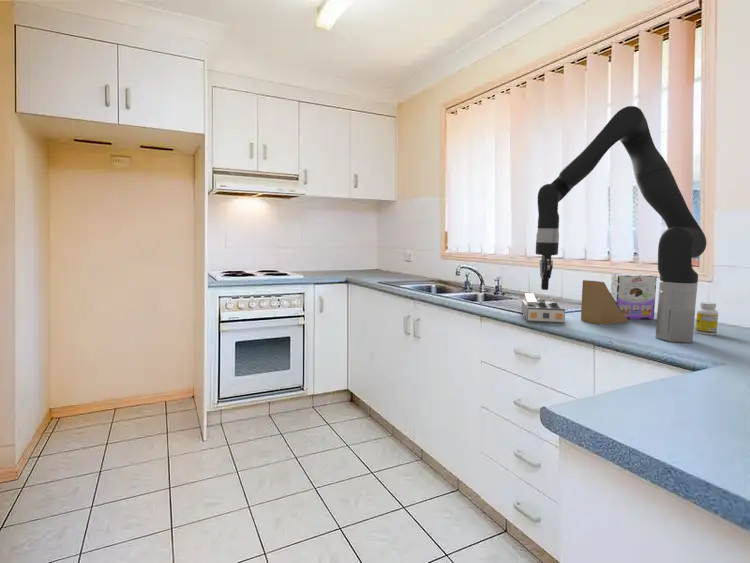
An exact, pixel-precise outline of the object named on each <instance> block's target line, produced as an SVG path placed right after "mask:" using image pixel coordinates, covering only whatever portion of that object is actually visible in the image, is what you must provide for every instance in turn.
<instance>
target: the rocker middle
mask: <svg viewBox="0 0 750 563" xmlns="http://www.w3.org/2000/svg"><path fill="white" fill-rule="evenodd" d="M535 298H536V297H535ZM549 298H550V297H549V296H539V297H537V298H536V301H537V302H546V301H549Z"/></svg>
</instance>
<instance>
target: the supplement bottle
mask: <svg viewBox="0 0 750 563" xmlns="http://www.w3.org/2000/svg"><path fill="white" fill-rule="evenodd" d="M699 306H700V308H699V309H697V311H696V321H695V332H696V333H697V334H700V335H708V336H714V335H715V336H716V335H717V332H718V321H719V312H718V310H716V308H717V303H715V302H710V301H701V302H700V303H699Z"/></svg>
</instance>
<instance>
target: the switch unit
mask: <svg viewBox="0 0 750 563" xmlns="http://www.w3.org/2000/svg"><path fill="white" fill-rule="evenodd" d="M520 309H521V312H522V313H523V314H524V316H523V318H524V317H525V318H524V319H525V321H526V322H531V323H546V322H552V323H551V324H565V316H566V308H565V307H563V306H562V305H560V304H559V302H549V301H546V302H537V305H527V302H526V300H521V308H520ZM521 312H520V313H521ZM522 313H521V314H522Z"/></svg>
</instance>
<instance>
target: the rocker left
mask: <svg viewBox="0 0 750 563" xmlns="http://www.w3.org/2000/svg"><path fill="white" fill-rule="evenodd" d="M524 298H525V301H526V302H527V305H537V301H536V296H535V294H534V293H524Z"/></svg>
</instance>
